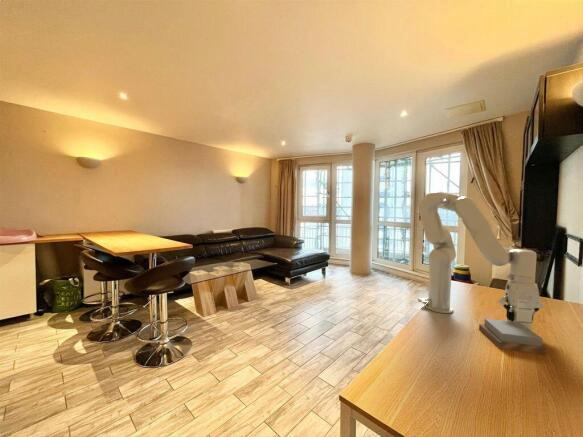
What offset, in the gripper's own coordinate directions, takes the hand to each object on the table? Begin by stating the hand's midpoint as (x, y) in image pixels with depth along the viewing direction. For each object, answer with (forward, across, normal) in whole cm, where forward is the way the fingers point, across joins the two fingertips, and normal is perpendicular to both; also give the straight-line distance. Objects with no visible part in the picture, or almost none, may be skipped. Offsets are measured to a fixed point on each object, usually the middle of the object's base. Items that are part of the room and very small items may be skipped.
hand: (519, 320), depth 100 cm
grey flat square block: (+5, -9, -10) cm, 14 cm away
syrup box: (+5, 0, 0) cm, 5 cm away
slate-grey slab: (+2, -9, -10) cm, 14 cm away
